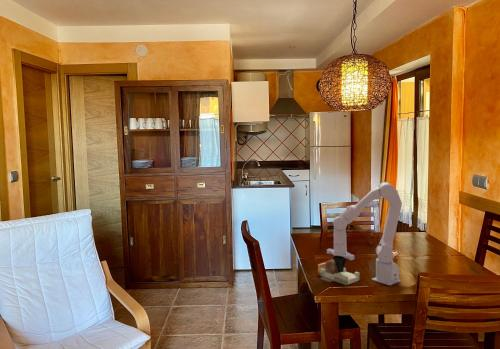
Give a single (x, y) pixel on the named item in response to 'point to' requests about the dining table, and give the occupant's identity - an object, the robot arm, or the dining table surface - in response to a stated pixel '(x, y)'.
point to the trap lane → (338, 275)
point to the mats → (326, 279)
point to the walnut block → (331, 267)
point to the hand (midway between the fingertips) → (340, 271)
